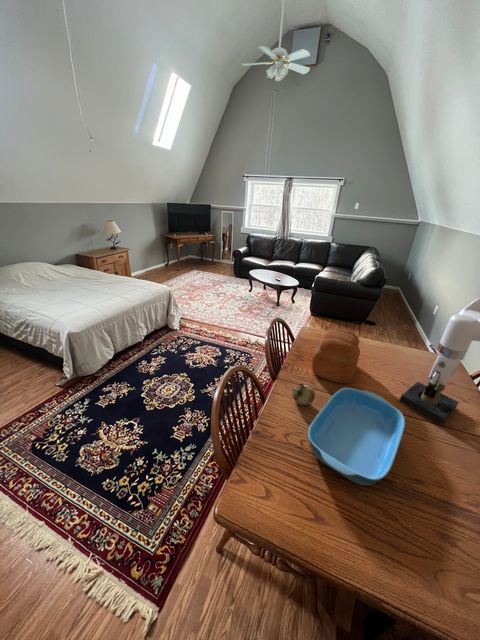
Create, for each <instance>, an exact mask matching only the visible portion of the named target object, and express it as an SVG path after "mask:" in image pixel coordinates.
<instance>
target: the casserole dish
mask: <svg viewBox="0 0 480 640" xmlns="http://www.w3.org/2000/svg"><path fill="white" fill-rule="evenodd" d="M405 426H406V420H405V416H404V414H403V413H402V412H401V411H400V410H399V409H398V408H396V407H395V406H394V405H392V404H391V403H389V402H388V400H387V399H385V398H384V397H382V396H381V395H379V394H376V393H374V392H372V391H368V390H363V389H362V390H361V389H357V388H352V387H343V388H340V389H338V390H337V391H336V392H335V393H334V394H333V395H332V396H331V397H330V399H328V401H327V403H326V404H325V405H324V406H323V407H322V408H321V410H320V411H319V412H318V414H316V416H315V417H314V419H313V420H312V422H311V423H310V425H309V427H308V431H307V436H308V441H309V445H310V449H311V450H312V453H313V454H314V456H315V457H316V459H318V460H319V461H320V462H321V463H322V464H324V465H325V466H327V467H329V468H330V469H332V470H333V471H335V472H336V473H339V474H340V475H341V476H343V477H344V478H346V479H347V480H350V481H351V482H352V483H355V484H357V485H361V486H371V485H373V484H375V483H377V482H379V481H381V480H382V479H384V478H385V477H386V476H387V475H388V474H389V473H390V471H391V469H392V467H393V465H394V462H395V459H396V457H397V454H398V450H399V447H400V444H401V441H402V438H403V435H404V431H405Z"/></svg>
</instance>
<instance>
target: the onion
mask: <svg viewBox="0 0 480 640" xmlns="http://www.w3.org/2000/svg"><path fill="white" fill-rule="evenodd" d="M291 391H292V398H293V400H294V401H295V403H297V404H298V405H301V406H309V405H310V404H312V403H313V402H314V400H315V397H316V394H315V393H316V392H315V391H314V389H313V387H311V386H309V385H308V384H307V385H306V384H304V383H300V382H299V384H297V386H296V387H293V386H291Z"/></svg>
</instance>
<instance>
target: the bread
mask: <svg viewBox="0 0 480 640" xmlns="http://www.w3.org/2000/svg"><path fill="white" fill-rule="evenodd" d="M359 345H360V339H359V337H358V336H357V335H356V333H354V332H352V331H350V330H347V329H343V328H331V329H328V330H327V331H326V332H325V333H324V335H323V337H322V338H321V340H320V342H319V344H318V345H317V346H316V348H315V351H314V353H313V356H312V358H311V369H312V372H313V373H314V375H315V376H318V377H320V378H322V379H323V380H328V381H330V382H333V383H337V384H347V383H350V382H351V381H352V379H353V377H354V376H355V373H356V370H357V367H358V362H359V359H360V355H361V350H360V347H359Z"/></svg>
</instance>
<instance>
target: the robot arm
mask: <svg viewBox="0 0 480 640" xmlns="http://www.w3.org/2000/svg"><path fill="white" fill-rule="evenodd" d="M473 341H476V342H480V297H478V298H476V299H475V300H473V301H472V302H471V303H469V304H468V305H466V306H465V307H463V309H461V310H460V312H458V313H457V314H453V315H452V316H450V318H449V321H448V322H447V324H446V327H445V329H444V332H443V334H442V336H441V339H440V340H439V344H438V346H437V349H436V353H437V357H436V359H435V362H434V364H433V365H432V367H431V370H430V374H429V375H428V380H429V379H431V380H430V381H429V383H428V385H426V386H427V387H426V389H425V392H424V395H426V396H428V397H430V398H432V399H434V397H435V395H436V393H437V391H438V390H437V388H438V386H439V385H440V384H442V385H445V386H446V384H447V383H449V382H450V381H451V380H452V379H453V377H454V375H455V373H456V371H457V368H458V365H459V363H460V361H463V360H464V358H465V357H466V354H467V352H468V351H469V348H470V346H471V344H472V342H473ZM437 379H438V380H439V381H437ZM435 382H436V383H437V385H435Z"/></svg>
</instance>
